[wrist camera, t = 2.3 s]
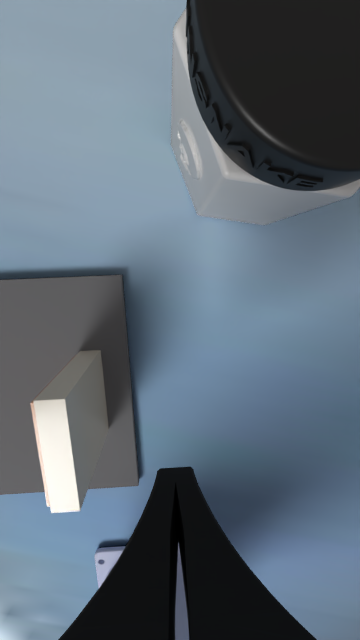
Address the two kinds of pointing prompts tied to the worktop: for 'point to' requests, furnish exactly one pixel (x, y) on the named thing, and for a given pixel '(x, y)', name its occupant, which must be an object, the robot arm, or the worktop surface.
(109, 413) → the mat
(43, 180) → the worktop surface
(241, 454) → the worktop surface
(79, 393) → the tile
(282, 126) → the jar
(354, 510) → the worktop surface
